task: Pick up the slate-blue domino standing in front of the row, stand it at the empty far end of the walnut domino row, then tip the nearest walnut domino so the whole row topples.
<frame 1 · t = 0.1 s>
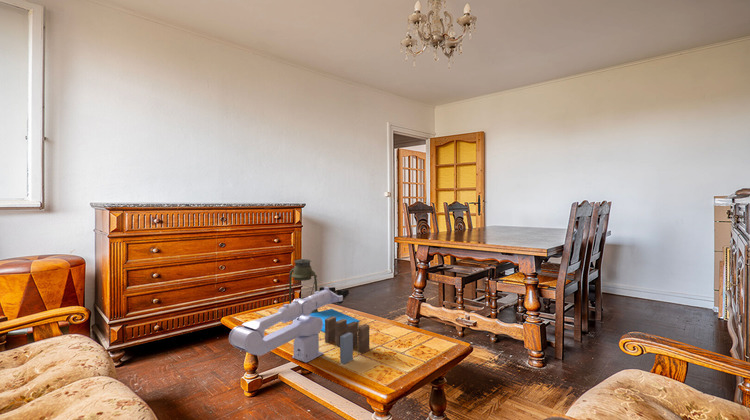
hand: (341, 290, 154), 22 cm above the table, tool horizontal, fingers open, 7 cm apart
domino 2: (341, 344, 149), on the table
domino 4: (363, 350, 142), on the table
lantern: (302, 316, 188), on the table
book: (330, 326, 174), on the table
domino 1: (330, 341, 153), on the table
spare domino: (346, 361, 133), on the table
domino 3: (352, 347, 146), on the table
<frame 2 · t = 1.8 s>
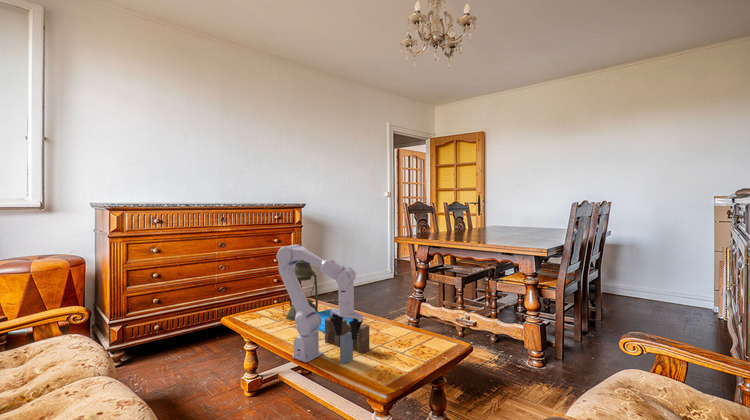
hand: (346, 336, 133), 9 cm above the table, tool pointing down, fingers open, 7 cm apart
nothing on the table moved.
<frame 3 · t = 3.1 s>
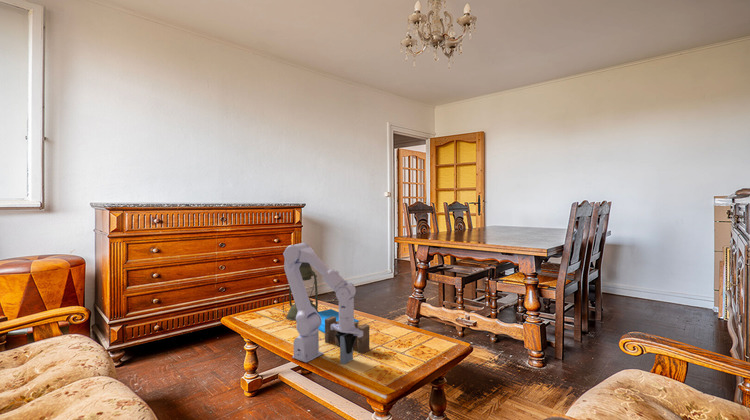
hand: (346, 352, 133), 3 cm above the table, tool pointing down, fingers closed on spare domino, 2 cm apart
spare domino: (346, 361, 133), on the table, touching gripper
everything else where it was.
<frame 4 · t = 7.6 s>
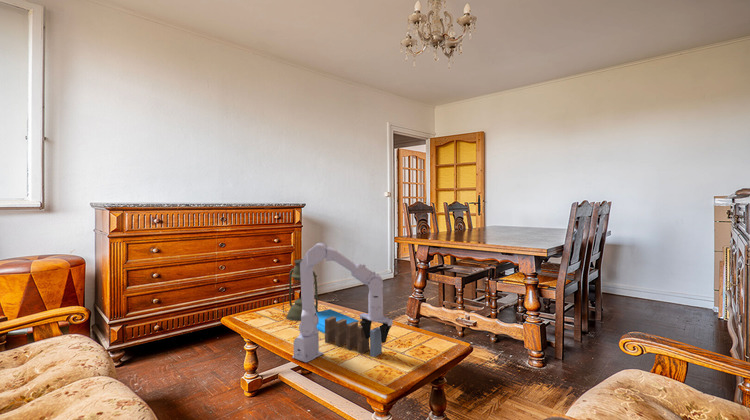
hand: (375, 340, 139), 6 cm above the table, tool pointing down, fingers open, 7 cm apart
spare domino: (376, 354, 139), on the table
everything else where it was.
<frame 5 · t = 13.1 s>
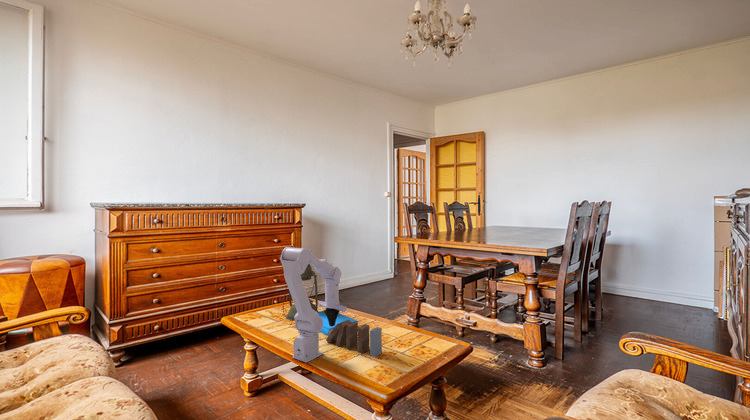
hand: (332, 325, 152), 7 cm above the table, tool pointing down, fingers closed
domino 2: (341, 343, 149), on the table, tilted 17°
domino 1: (331, 339, 153), point 1 cm above the table, tilted 38°
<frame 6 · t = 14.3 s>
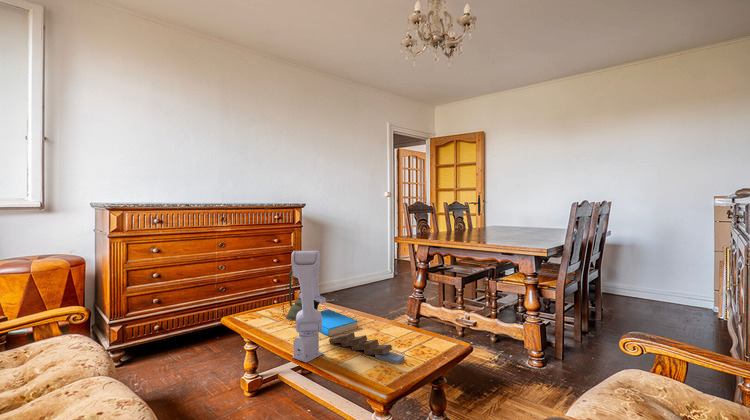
hand: (312, 316, 153), 10 cm above the table, tool pointing down, fingers closed
domino 2: (345, 342, 148), point 1 cm above the table, tilted 70°, touching domino 1
domino 4: (368, 349, 141), point 1 cm above the table, tilted 74°, touching domino 3
domino 1: (333, 339, 152), point 1 cm above the table, tilted 71°, touching domino 2
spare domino: (378, 354, 138), on the table, tilted 90°
domino 3: (355, 346, 145), point 1 cm above the table, tilted 72°, touching domino 4
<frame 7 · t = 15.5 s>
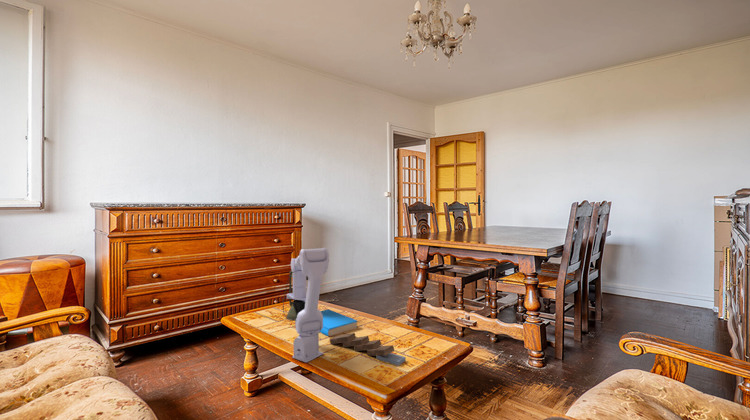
hand: (299, 317, 153), 10 cm above the table, tool pointing down, fingers closed
domino 2: (346, 342, 148), point 1 cm above the table, tilted 72°, touching domino 1, domino 3
domino 4: (371, 350, 140), point 1 cm above the table, tilted 73°, touching domino 3, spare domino
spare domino: (380, 355, 137), on the table, tilted 90°, touching domino 4
domino 3: (357, 346, 145), point 1 cm above the table, tilted 72°, touching domino 2, domino 4
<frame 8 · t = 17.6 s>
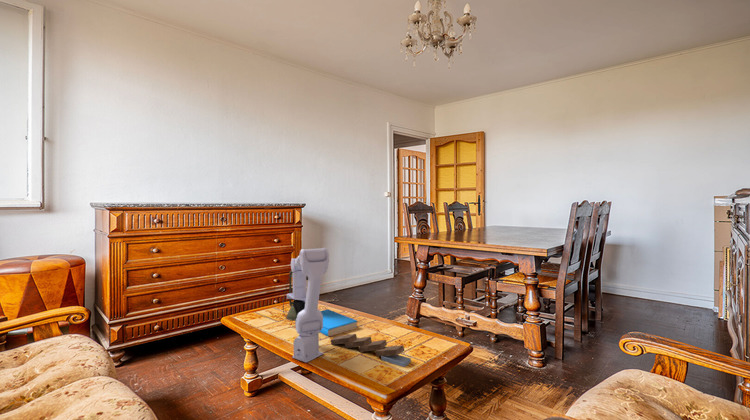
hand: (299, 317, 153), 10 cm above the table, tool pointing down, fingers closed
domino 2: (348, 343, 148), point 1 cm above the table, tilted 73°, touching domino 3
domino 4: (379, 351, 138), point 2 cm above the table, tilted 73°, touching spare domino
domino 1: (334, 340, 151), point 1 cm above the table, tilted 74°
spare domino: (384, 357, 136), on the table, tilted 90°, touching domino 4
domino 3: (362, 347, 143), point 1 cm above the table, tilted 73°, touching domino 2
at the end: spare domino tilted 90°; domino 1 tilted 74°; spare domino inside the target area (0.8 cm from its centre), on the table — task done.
